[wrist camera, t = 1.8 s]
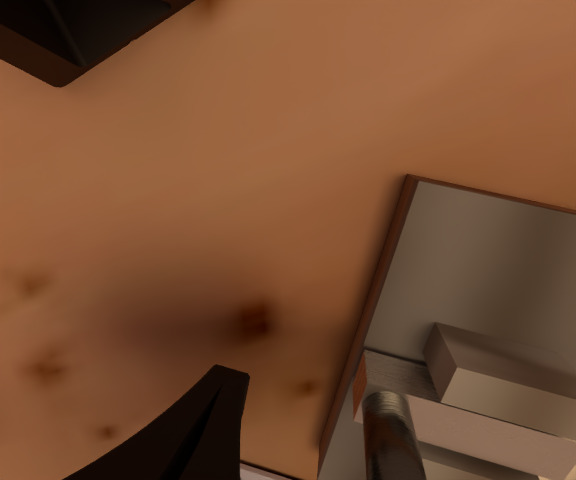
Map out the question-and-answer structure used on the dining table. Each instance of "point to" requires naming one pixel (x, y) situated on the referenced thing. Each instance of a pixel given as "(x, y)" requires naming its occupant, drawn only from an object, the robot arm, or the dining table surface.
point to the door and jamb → (469, 320)
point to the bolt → (440, 426)
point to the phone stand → (74, 33)
